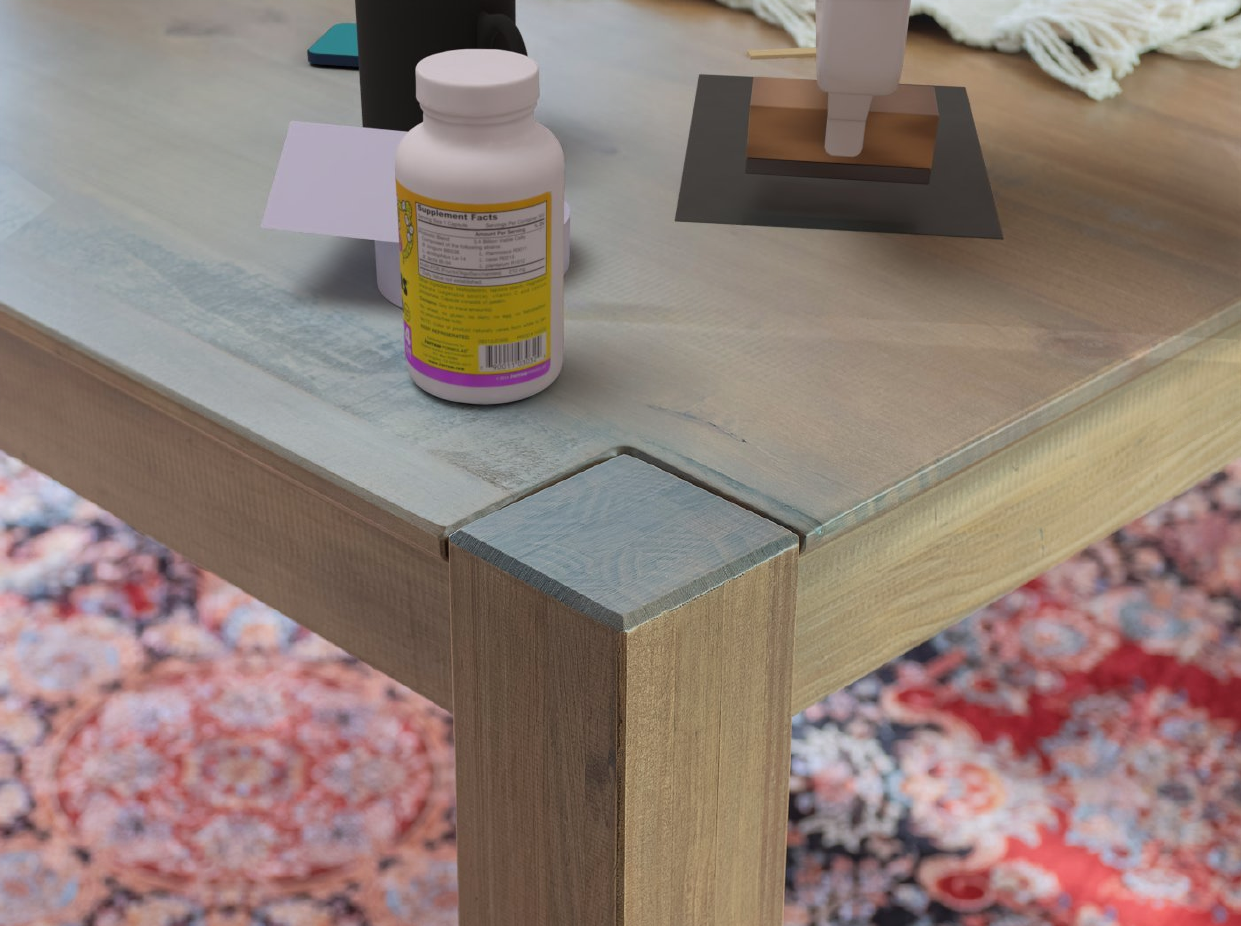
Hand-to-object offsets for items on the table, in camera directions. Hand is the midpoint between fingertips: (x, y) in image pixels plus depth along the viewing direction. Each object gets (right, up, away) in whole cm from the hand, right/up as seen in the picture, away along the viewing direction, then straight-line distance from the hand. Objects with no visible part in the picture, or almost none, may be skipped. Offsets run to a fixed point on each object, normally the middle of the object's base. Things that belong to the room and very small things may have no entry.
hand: (841, 131), depth 83 cm
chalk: (0, +11, +22) cm, 25 cm away
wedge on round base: (-20, -8, -4) cm, 22 cm away
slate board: (+1, +1, +9) cm, 9 cm away
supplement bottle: (-17, -14, -12) cm, 25 cm away
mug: (-19, 0, +7) cm, 21 cm away
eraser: (0, -1, +1) cm, 2 cm away
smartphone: (-22, +12, +24) cm, 35 cm away
